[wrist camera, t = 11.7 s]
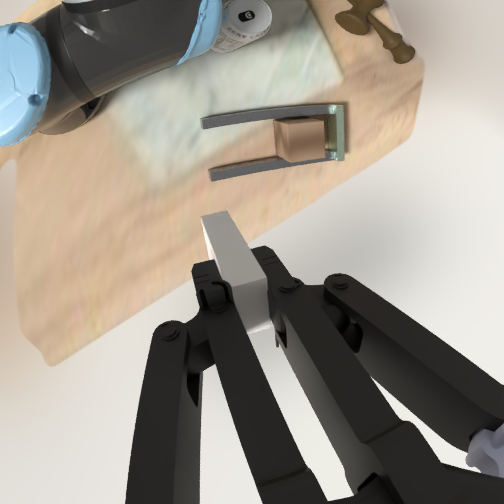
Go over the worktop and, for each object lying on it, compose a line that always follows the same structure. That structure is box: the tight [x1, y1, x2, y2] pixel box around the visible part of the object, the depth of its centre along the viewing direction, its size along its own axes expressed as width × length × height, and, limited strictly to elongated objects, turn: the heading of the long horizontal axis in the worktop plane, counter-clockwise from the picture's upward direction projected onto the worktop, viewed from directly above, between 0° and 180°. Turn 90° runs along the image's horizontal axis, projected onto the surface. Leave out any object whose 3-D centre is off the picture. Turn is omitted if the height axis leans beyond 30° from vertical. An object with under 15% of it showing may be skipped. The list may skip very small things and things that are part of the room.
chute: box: [200, 104, 344, 181], centre depth 47 cm, size 10×24×3 cm, turn 97°
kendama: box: [335, 0, 415, 64], centre depth 38 cm, size 6×10×20 cm
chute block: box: [273, 117, 325, 163], centre depth 46 cm, size 6×6×6 cm
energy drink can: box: [211, 0, 272, 53], centre depth 31 cm, size 6×6×15 cm
